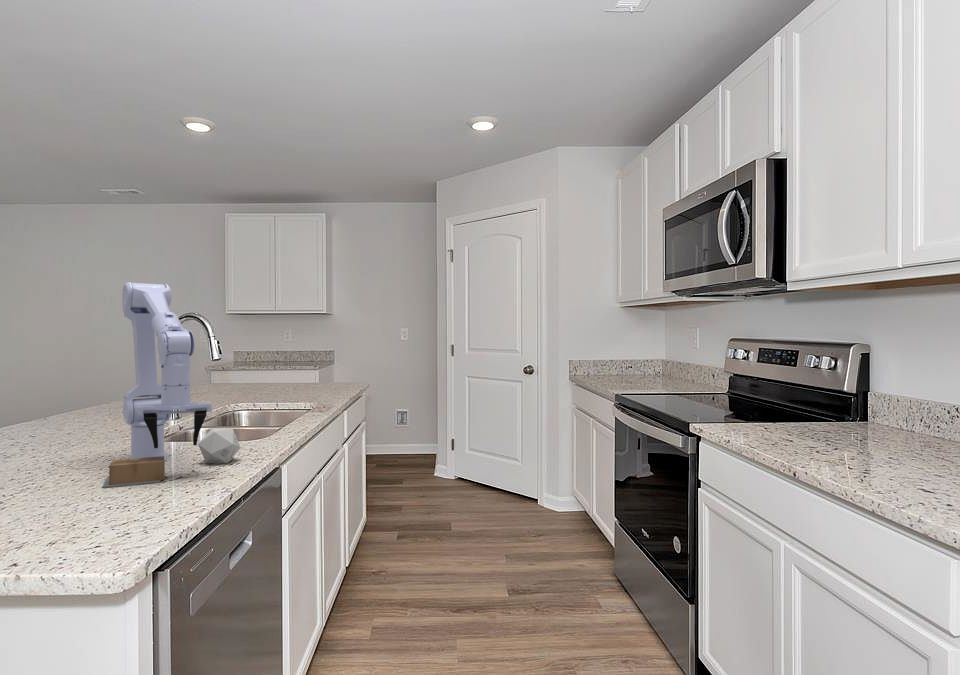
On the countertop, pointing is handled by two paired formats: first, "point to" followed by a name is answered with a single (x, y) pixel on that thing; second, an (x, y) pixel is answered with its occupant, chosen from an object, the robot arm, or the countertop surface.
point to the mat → (106, 483)
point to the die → (219, 445)
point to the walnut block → (136, 470)
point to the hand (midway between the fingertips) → (175, 446)
